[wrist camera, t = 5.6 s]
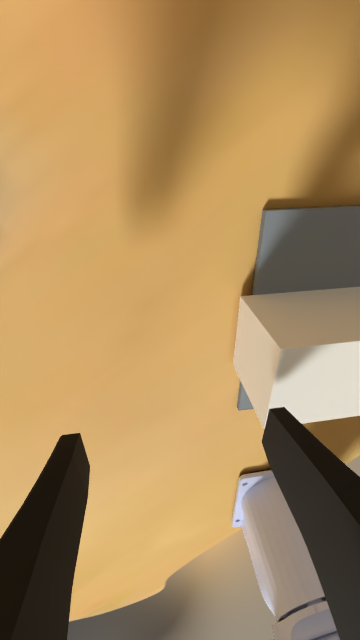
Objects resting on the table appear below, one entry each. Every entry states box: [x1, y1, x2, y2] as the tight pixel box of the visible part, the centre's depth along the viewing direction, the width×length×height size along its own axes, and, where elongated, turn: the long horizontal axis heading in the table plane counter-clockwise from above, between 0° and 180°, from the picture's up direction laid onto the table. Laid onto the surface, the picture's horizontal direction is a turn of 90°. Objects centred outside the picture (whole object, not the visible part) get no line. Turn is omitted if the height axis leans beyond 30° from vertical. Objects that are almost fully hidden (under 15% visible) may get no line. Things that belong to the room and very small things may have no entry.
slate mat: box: [237, 205, 360, 411], centre depth 18 cm, size 14×12×1 cm
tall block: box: [233, 287, 360, 429], centre depth 15 cm, size 5×5×10 cm
